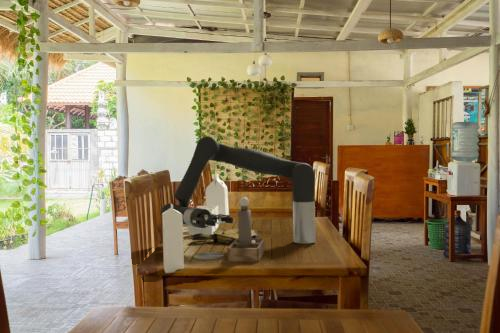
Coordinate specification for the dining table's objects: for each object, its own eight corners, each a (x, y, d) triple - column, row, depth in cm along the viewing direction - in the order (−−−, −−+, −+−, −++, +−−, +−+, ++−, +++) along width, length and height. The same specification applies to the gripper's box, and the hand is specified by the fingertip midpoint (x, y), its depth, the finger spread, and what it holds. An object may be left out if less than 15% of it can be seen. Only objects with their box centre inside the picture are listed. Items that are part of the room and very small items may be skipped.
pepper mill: (252, 256, 165) (251, 196, 164) (250, 259, 161) (249, 197, 160) (240, 256, 166) (238, 196, 165) (237, 259, 161) (236, 197, 161)
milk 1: (165, 273, 149) (163, 205, 148) (163, 268, 155) (161, 203, 154) (184, 271, 151) (182, 204, 150) (181, 267, 157) (179, 202, 156)
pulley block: (194, 225, 205) (261, 224, 205) (194, 237, 207) (261, 236, 206) (189, 235, 192) (261, 234, 191) (189, 249, 193) (261, 248, 192)
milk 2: (209, 218, 266) (208, 173, 265) (229, 218, 265) (228, 173, 264) (205, 222, 254) (204, 175, 253) (225, 222, 253) (224, 174, 252)
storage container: (212, 235, 214) (211, 212, 214) (188, 236, 215) (188, 212, 214) (218, 226, 239) (218, 205, 239) (197, 227, 240) (197, 206, 239)
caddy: (264, 252, 176) (264, 238, 176) (259, 264, 158) (258, 248, 158) (236, 252, 177) (236, 238, 177) (227, 264, 160) (227, 248, 159)
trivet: (226, 255, 173) (226, 252, 173) (220, 262, 162) (220, 259, 162) (198, 254, 175) (198, 252, 175) (190, 261, 164) (190, 259, 164)
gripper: (182, 209, 178) (208, 213, 166) (210, 206, 187) (237, 209, 176) (182, 229, 178) (208, 234, 166) (211, 224, 188) (238, 229, 176)
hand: (223, 221), depth 171 cm, fingers open, 8 cm apart
